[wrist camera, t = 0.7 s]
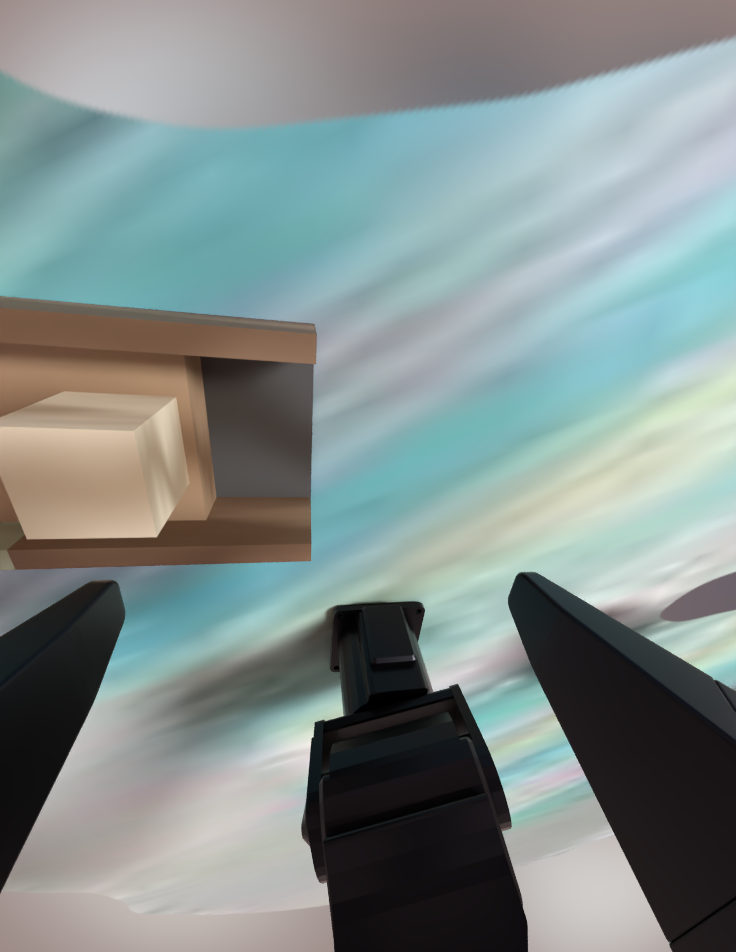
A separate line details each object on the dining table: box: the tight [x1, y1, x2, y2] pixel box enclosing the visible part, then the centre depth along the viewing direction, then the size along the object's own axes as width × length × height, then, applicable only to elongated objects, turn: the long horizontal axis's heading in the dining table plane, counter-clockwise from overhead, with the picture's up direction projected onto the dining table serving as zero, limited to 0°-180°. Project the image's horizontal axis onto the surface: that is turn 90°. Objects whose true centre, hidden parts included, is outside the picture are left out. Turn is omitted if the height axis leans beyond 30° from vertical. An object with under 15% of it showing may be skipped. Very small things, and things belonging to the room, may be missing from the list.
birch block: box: [0, 391, 189, 539], centre depth 13 cm, size 4×4×4 cm
